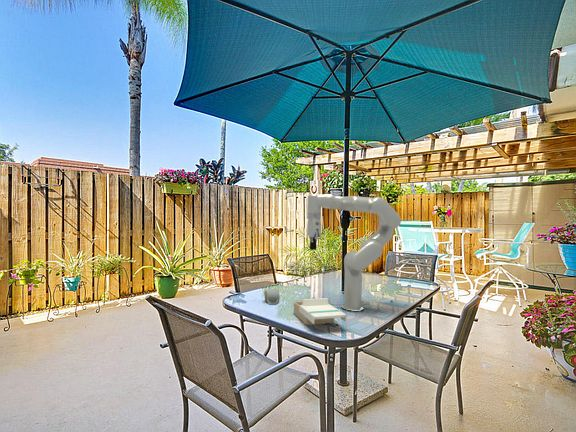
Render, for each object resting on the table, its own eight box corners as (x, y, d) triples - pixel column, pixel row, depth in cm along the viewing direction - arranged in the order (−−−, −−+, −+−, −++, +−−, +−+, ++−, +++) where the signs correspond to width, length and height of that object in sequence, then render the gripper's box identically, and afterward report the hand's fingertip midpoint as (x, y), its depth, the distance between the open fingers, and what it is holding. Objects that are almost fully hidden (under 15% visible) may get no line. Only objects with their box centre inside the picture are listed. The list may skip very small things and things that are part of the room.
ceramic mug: (263, 300, 181) (264, 287, 181) (277, 300, 183) (277, 287, 183) (266, 305, 171) (266, 292, 171) (280, 305, 173) (281, 291, 173)
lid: (328, 309, 151) (328, 297, 152) (346, 321, 134) (346, 307, 134) (299, 311, 147) (299, 298, 147) (313, 324, 129) (314, 309, 129)
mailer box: (318, 312, 161) (319, 300, 161) (333, 323, 144) (334, 310, 144) (293, 313, 157) (294, 301, 157) (306, 325, 139) (306, 312, 139)
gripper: (325, 216, 163) (324, 251, 163) (315, 216, 177) (314, 248, 177) (312, 216, 161) (311, 251, 160) (302, 216, 175) (302, 248, 175)
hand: (313, 249), depth 169 cm, fingers closed
